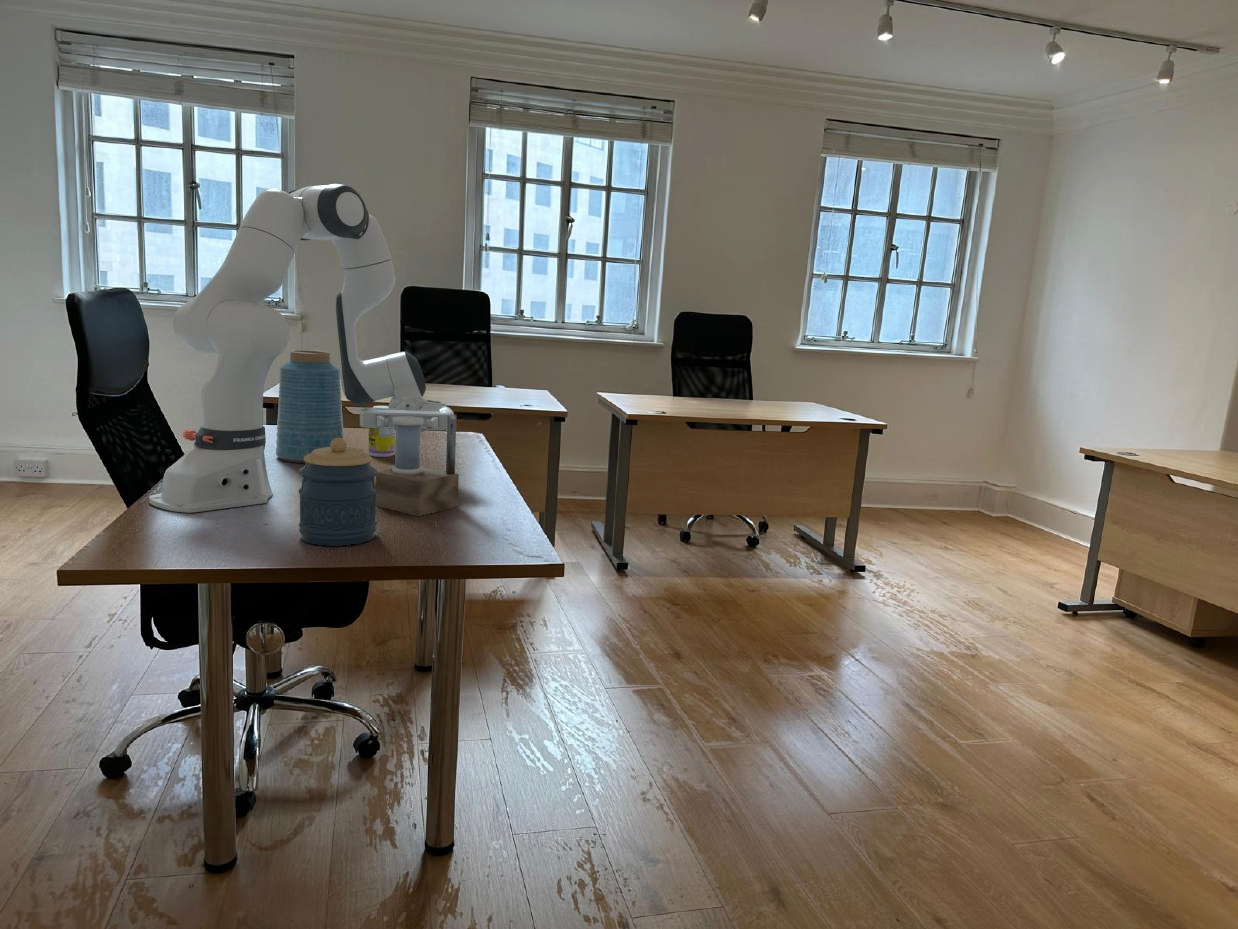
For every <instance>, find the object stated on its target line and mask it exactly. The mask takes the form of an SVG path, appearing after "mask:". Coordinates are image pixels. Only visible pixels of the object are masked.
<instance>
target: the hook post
mask: <svg viewBox="0 0 1238 929" xmlns="http://www.w3.org/2000/svg"><path fill="white" fill-rule="evenodd" d="M456 446H457V414H454V415H447V430H446V454H445V456H446V458H445V460H446V461H445V471H446V474H450V475H452V474H455V473H456V448H457V447H456Z"/></svg>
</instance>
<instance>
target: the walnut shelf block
mask: <svg viewBox="0 0 1238 929" xmlns="http://www.w3.org/2000/svg"><path fill="white" fill-rule="evenodd" d="M421 466H422V467H423V471H422V473H421V474H417V475H399V474H394V473H392V468H389V469H386V470H385V469H384V470H380V471H377V474H376V476H375V487H376V489H377V492H376V507H378V508H383V507H384V509H387V508H388V509H387V510H391V511H395V510H397V511H396V512H398V511H400V512H399V513H402V512H403V513H402V514H406V513H409V514H408V515H410V514H412V515H411V516H414V515H416V516H415V517H418V516H420V517H423V515H424V516H427V515H426V514H428V515H430V514H429V513H432V514H436V513H439V512H438V511H440V512H443V511H442V510H444V511H447V509H448V510H450V508H452V509H455V508H454V507H456V508H458V504H459V477H460V476H459V473H456V472H455V474H452V475H450V474H446V470H441V469H437V468H433V467H428V466H423V465H421ZM435 512H436V513H435Z"/></svg>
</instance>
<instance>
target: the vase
mask: <svg viewBox="0 0 1238 929" xmlns="http://www.w3.org/2000/svg"><path fill="white" fill-rule="evenodd" d="M289 354H290V356H289V361H287V362H286V363H284V364H283V365H281V366H279V368H280V369H279V371H280V372H279V387H278V388H279V389H278V406H277V407H278V410H277V412H278V413H277V421H276V423H277V426H276V430H277V431H276V441H275V443H276V447H275V455H276V456H277V457H278V458H279V459H281V460H283V461H284V462H290V463H296V464H306V462H305V461H304V457H305V456H306V455H308V454H310V453H311V452H312V451H313V450H315V449H319V448H326V447H330V444H331V441H332V440H333V439H335V438H342V439H344V437H345V432H344V421H343V410H342V409H343V408H342V407H343V406H342V405H343V403H342V392H341V391H342V385H341V374H340V372H341V370H340V368H339V367H338V366H337V365H335V364H333V363H332V362H331V356H330V355H331V354H330V352H329V351H323V350H313V349H312V350H310V349H308V350H307V349H306V350H305V349H300V350H299V349H296V350H290V352H289Z"/></svg>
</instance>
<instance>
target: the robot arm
mask: <svg viewBox="0 0 1238 929" xmlns="http://www.w3.org/2000/svg"><path fill="white" fill-rule="evenodd" d="M311 240H313V241H314V240H319V241H320V240H321V241H330V242H332V244H333V246H335V248H336V250H337V253H338V257H339V261H340V265H341V268H342V273H343V286H342V288H341V291H340V292H338V293H337V294H336V298H335V318H336V326H337V336H338V346H339V354H340V364H341V370H340V372H341V374H340V385H341V391H342V392H343V395H344V396H345V398H346V400H348V401H350V402H351V403H354V404H356V405H357V406H362V407H363V406H364V405H368V404H371V403H374V402H376V401H379V400H383V399H384V400H385V399H387V398H391V399H390V400H389V403H388V405H387V406H388V408H373V407H365V408H362V409H361V410H360V412H359V426H360V427H361V428H368V429H369V428H393V429H394V430H395V432H396V424H393V417H398V416H413V417H421V418H423V419H424V423H423V425H420V433H424V432H433V431H435V432H436V431H438V432H439V431H445V430H446V431H447V415H455V413H454V411H453V410H452V409H451V408H450V407H449V406H447V403H446V402H443V401H438V400H430V399H425V398H423V397H424V395H425V393H426V390H427V386H426V385H427V384H426V380H425V376H424V373H423V369H422V367H421V364H420V363H419V361H418V359H417V357H416V356H414V355H412V353H409V352H408V351H407V350H406V351H400V352H396V353H390V354H386V355H382V356H379V357H375V358H370V359H366V360H364V359H363V360H362V359H360V358H359V352H358V341H357V332H356V330H357V329H356V327H357V323H358V321H359V319H360V318H361V317H362V316H363V315H364V314H366V313H367V312H368V311H370V310H372V309H373V308H374V307H376V306H378V305H379V304H381V303H382V302H383V301H384V300H385V299H387V298H388V296H390V295H391V293H392V291H393V290H394V287H395V285H396V272H395V269H394V268H395V267H394V263H393V259H392V256H391V251H390V249H389V246H388V242H387V240H386V238H385V235H384V233H383V230H382V228H381V226H380V223H379V222H378V220H377V219H376V218H375V217H374V215H372V214H370V213H369V211H368V209H367V205H366V204H365V201H364V199H363V197H362V196H361V195H360V193H359V192H358V191H357V190H356V189H355V188H353V187H352V186H349V185H345V184H342V183H341V184H340V183H330V184H325V185H323V184H322V185H317V184H315V185H309V186H306V187H302V188H300V189H293V190H290V191H288V192H287V191H284V190H282V189H274V188H271V189H270V188H269V189H266V190H265V189H264V190H263V191H262V192H260V193H259V194H258V196H257V197H256V198H255V199H254V201H253V202H252V204H251V206H250V207H249V209H248V210H247V211H246V214H245V215H244V218H243V219H242V221H241V224H240V225H239V228H238V230H237V232H236V235H235V236H234V239H233V242H232V244H231V245H230V249H229V251H228V253H227V254H226V257H225V259H224V261H223V262H222V264H221V266H220V267H219V269H218V270H217V272H215V274H214V275H213V277H212V278H211V279H210V281H208V282H207V284H206V285H205V286H204V287H203V288H202V290H201V291H200V292H199V293H198V294H196V296H194V297H193V298H192V299H190V300H189V301H187V302H185V303H183V304H182V305H181V306H179V308H177V310H176V312H175V314H174V316H173V320H172V321H173V322H172V323H173V324H172V327H173V332H174V335H175V337H176V338H177V339H178V341H179V342H180V343H181V344H183V345H184V346H185V347H187V348H189V349H192V350H193V351H195V352H198V353H200V354H204V355H211V356H217V362H216V366H215V370H214V373H213V374H212V377H211V378H210V379H208V380H207V381H206V382H205V383H204V384H203V385H202V388H201V392H200V393H201V394H200V395H201V417H202V418H201V421H202V422H201V423H202V424H201V426H200V428H199V430H198V431H196V430H191V429H189V428H188V429H185V430H184V431H183V432H182V438H184V440H187V441H192V442H193V441H194V443H193V445H194V446H193V447H192V448H191V449H189V450H188V451H187V452H186V453H185V454H183V455H182V456H181V457H180V458H178V460H177V461H176V462H174V463H172V465H171V466H169V467H168V468H167V469H166V470H165V472H164V474H163V478H162V485H161V492H160V493H156V494H152V495H149V498H148V502H149V504H150V505H152V506H154V507H156V508H160V509H162V510H166V511H170V512H178V513H186V514H187V513H189V514H192V513H197V512H198V513H201V512H207V511H208V512H209V511H216V510H222V509H229V508H237V507H245V506H252V505H260V504H265V503H267V502H268V500H269V498H270V497H272V496H273V494H274V493H273V490H272V487H271V484H270V480H269V477H268V471H267V464H266V456H265V448H266V442H267V441H266V439H267V438H266V426H264V424H263V423H264V417H263V415H264V406H263V405H264V389H265V384H266V379H267V376H268V373H269V370H270V368H271V366H272V364H273V362H274V360H275V359H276V358H277V357H278V356H279V355H281V354H282V353H283V352H284V350H285V349H286V347H287V345H288V342H289V339H290V329H289V328H290V327H289V325H288V322H287V320H286V318H285V316H284V315H283V313H281V312H280V311H278V310H276V309H274V308H271V307H269V306H266V305H264V304H262V302H264V301H265V300H266V299H267V298H269V297H270V296H272V295H274V294H275V293H277V292H278V291H279V290H280V289H281V287H282V286H283V283H284V280H285V278H286V275H287V274H288V271H289V268H290V265H291V263H292V261H293V258H294V256H295V255H296V254H295V253H296V250H297V248H298V245H299V242H300V241H311Z"/></svg>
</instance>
